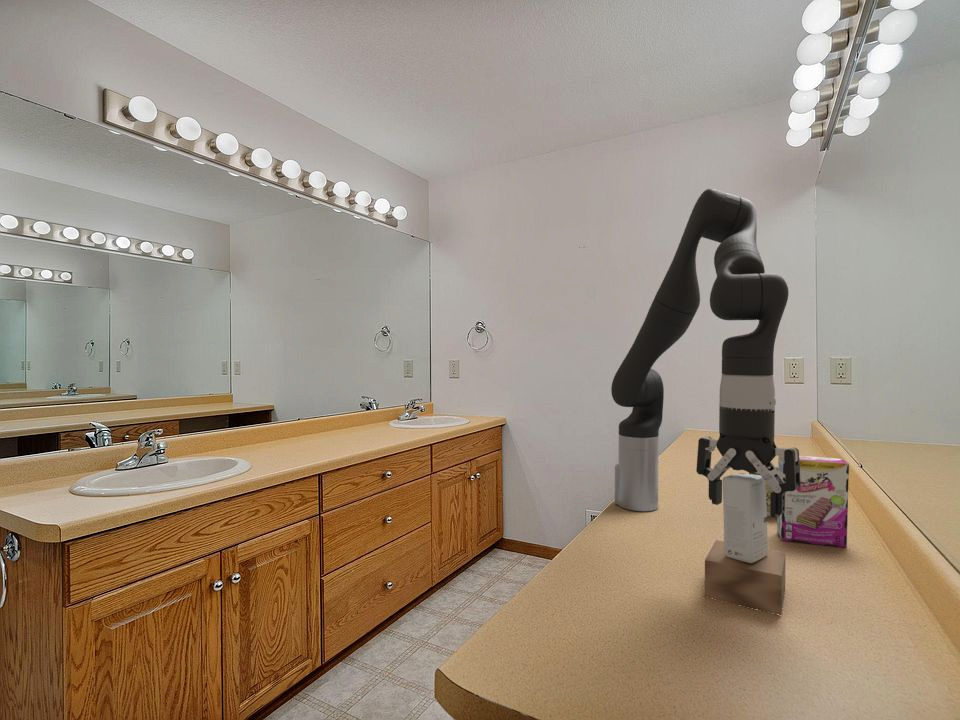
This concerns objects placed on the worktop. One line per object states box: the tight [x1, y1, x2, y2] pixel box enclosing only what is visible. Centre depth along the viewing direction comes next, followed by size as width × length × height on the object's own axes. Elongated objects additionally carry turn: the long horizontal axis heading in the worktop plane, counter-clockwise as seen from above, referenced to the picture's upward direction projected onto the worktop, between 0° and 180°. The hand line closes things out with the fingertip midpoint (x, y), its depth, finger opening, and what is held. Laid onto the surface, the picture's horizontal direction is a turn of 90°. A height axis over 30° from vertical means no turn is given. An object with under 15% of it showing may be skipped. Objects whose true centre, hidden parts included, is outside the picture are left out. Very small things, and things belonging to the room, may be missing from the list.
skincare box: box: [722, 472, 769, 563], centre depth 79 cm, size 6×4×12 cm
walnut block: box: [704, 539, 787, 615], centre depth 78 cm, size 10×10×6 cm
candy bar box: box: [776, 455, 850, 548], centre depth 101 cm, size 11×5×16 cm, turn 71°
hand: (745, 510), depth 78 cm, fingers open, 8 cm apart
